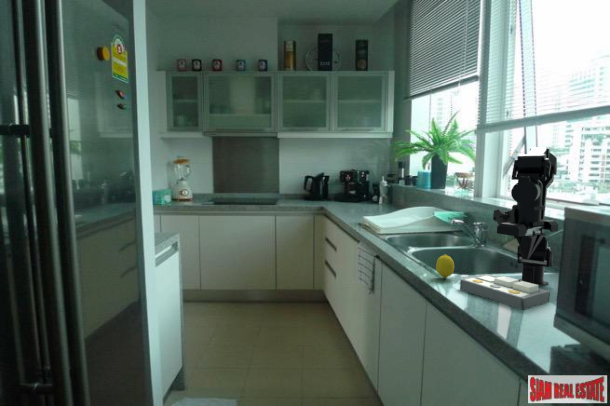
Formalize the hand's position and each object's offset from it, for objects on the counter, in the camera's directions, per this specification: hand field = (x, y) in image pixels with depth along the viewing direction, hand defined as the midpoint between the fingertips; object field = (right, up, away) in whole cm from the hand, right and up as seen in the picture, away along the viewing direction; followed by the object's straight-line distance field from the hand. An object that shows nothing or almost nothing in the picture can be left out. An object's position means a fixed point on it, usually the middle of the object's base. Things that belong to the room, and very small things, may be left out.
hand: (526, 258), depth 102 cm
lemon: (-14, -10, +21) cm, 27 cm away
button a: (-5, -10, +10) cm, 15 cm away
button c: (0, -10, +1) cm, 10 cm away
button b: (-2, -9, +5) cm, 11 cm away
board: (-4, -11, +5) cm, 13 cm away
